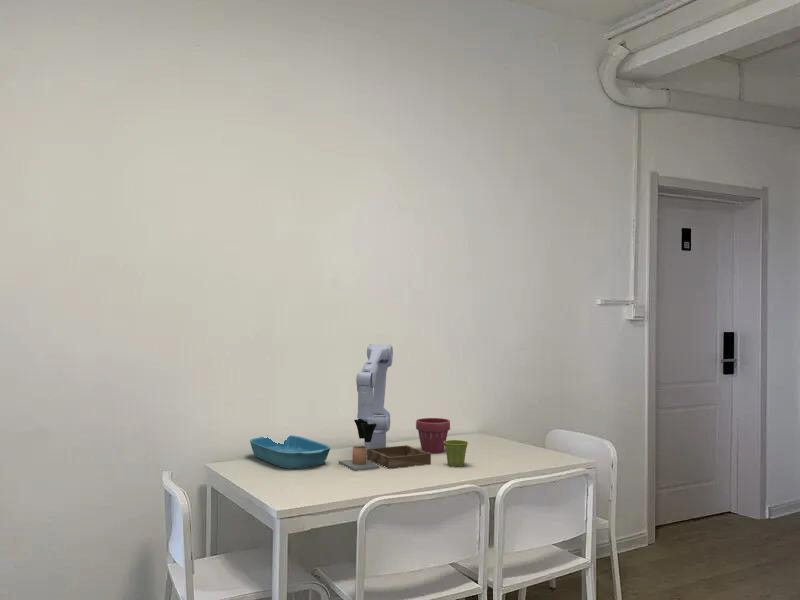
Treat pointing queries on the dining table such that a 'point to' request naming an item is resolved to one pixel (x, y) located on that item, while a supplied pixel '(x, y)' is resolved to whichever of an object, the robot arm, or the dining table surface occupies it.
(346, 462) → the slate board
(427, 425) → the plant pot
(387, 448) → the brown wooden tray
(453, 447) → the plant pot
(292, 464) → the casserole dish
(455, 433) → the dining table surface
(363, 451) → the terracotta pot
